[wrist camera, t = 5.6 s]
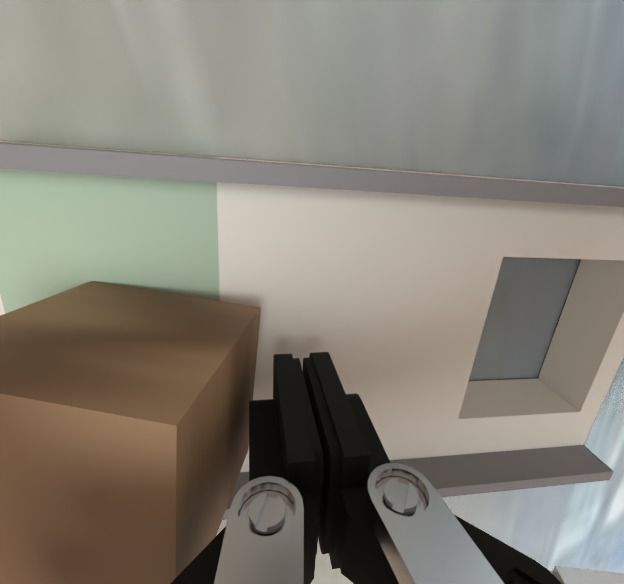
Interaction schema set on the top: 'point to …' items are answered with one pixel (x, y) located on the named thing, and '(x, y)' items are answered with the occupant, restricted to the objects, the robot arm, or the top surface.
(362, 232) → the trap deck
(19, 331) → the walnut block
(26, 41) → the top surface
